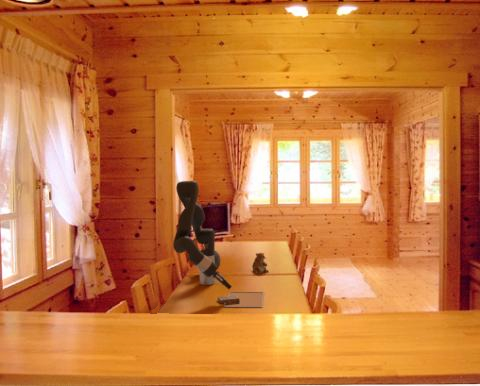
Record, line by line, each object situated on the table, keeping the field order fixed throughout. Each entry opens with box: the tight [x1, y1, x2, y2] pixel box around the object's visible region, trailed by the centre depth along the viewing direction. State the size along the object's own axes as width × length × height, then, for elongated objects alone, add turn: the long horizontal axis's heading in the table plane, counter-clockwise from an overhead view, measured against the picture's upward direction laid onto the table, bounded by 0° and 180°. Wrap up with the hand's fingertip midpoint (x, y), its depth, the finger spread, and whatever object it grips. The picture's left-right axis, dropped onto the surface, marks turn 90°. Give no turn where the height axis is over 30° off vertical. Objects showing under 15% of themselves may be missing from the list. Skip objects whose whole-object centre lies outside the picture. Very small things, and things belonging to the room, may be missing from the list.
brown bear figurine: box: [251, 252, 269, 275], centre depth 287 cm, size 10×14×13 cm
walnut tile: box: [217, 295, 240, 305], centre depth 218 cm, size 2×6×10 cm
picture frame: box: [222, 291, 265, 309], centre depth 220 cm, size 19×1×28 cm
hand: (230, 287), depth 218 cm, fingers closed
